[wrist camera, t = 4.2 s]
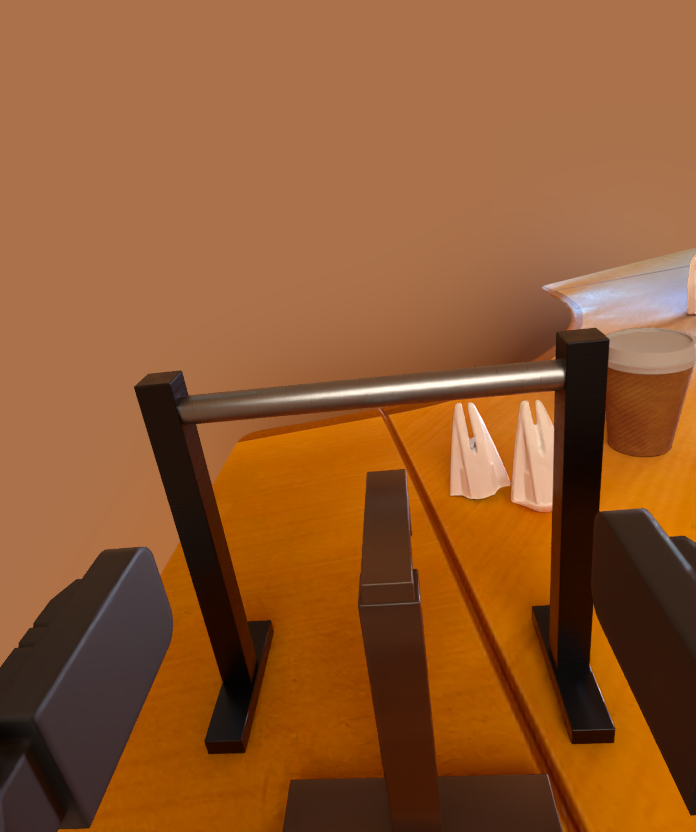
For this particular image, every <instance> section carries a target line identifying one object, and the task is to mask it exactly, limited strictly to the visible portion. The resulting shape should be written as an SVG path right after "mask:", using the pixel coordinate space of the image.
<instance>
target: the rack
mask: <svg viewBox="0 0 696 832" xmlns="http://www.w3.org/2000/svg"><path fill="white" fill-rule="evenodd" d="M609 344H610V339H609V338H608V337H607V336H605V335H604V334H603V333H602V332H601V331H599V330H598V329H597V328H589V329H579V330H569V331H560V332H557V333H556V359H555V360H544V361H534V362H524V363H514V364H505V365H493V366H483V367H474V368H464V369H453V370H442V371H433V372H423V373H413V374H402V375H391V376H382V377H371V378H361V379H351V380H340V381H330V382H321V383H310V384H299V385H289V386H279V387H269V388H259V389H248V390H239V391H228V392H218V393H208V394H198V395H188V392H187V388H186V385H185V381H184V377H183V373H182V371H172V372H162V373H152V374H148V375H146V376H145V377H144V378H143V379H142V380H141V381H140V382H139V383H138V384H137V385H136V386H134V389H135V392H136V396H137V399H138V402H139V405H140V409H141V412H142V416H143V419H144V422H145V426H146V428H147V432H148V436H149V439H150V442H151V445H152V449H153V452H154V455H155V459H156V462H157V465H158V468H159V472H160V475H161V479H162V482H163V485H164V488H165V492H166V495H167V499H168V502H169V505H170V508H171V512H172V515H173V518H174V522H175V525H176V528H177V532H178V535H179V539H180V542H181V545H182V548H183V552H184V555H185V558H186V562H187V565H188V568H189V572H190V575H191V578H192V582H193V585H194V588H195V592H196V595H197V598H198V602H199V605H200V608H201V612H202V615H203V618H204V622H205V625H206V628H207V632H208V635H209V638H210V642H211V645H212V648H213V651H214V655H215V658H216V661H217V665H218V668H219V671H220V675H221V678H222V681H223V683H222V686H221V689H220V693H219V696H218V699H217V702H216V705H215V709H214V712H213V715H212V718H211V722H210V725H209V728H208V731H207V735H206V738H205V741H204V742H205V745H206V748H207V751H208V754H228V753H245V751H246V747H247V743H248V738H249V734H250V730H251V726H252V721H253V717H254V713H255V709H256V704H257V700H258V696H259V692H260V687H261V683H262V679H263V675H264V670H265V666H266V662H267V658H268V653H269V649H270V645H271V641H272V636H273V632H274V631H273V627H272V622H271V620H266V621H247V618H246V615H245V611H244V607H243V603H242V599H241V595H240V592H239V588H238V584H237V580H236V576H235V572H234V569H233V565H232V561H231V557H230V553H229V549H228V546H227V542H226V538H225V534H224V530H223V526H222V523H221V519H220V515H219V511H218V507H217V503H216V500H215V496H214V492H213V488H212V484H211V481H210V477H209V473H208V469H207V465H206V461H205V458H204V454H203V450H202V446H201V442H200V438H199V434H198V431H197V427H196V424H201V423H212V422H222V421H233V420H245V419H255V418H265V417H277V416H287V415H299V414H309V413H320V412H331V411H342V410H353V409H363V408H375V407H385V406H396V405H407V404H418V403H429V402H440V401H451V400H461V399H472V398H483V397H494V396H505V395H516V394H526V393H537V392H548V391H555V411H554V455H553V498H552V542H551V586H550V605H545V606H532V620H533V623H534V626H535V629H536V633H537V636H538V639H539V642H540V645H541V648H542V652H543V655H544V658H545V661H546V664H547V667H548V670H549V674H550V677H551V680H552V683H553V686H554V689H555V693H556V696H557V699H558V702H559V705H560V708H561V712H562V715H563V718H564V721H565V724H566V727H567V731H568V734H569V737H570V740H571V743H572V744H591V743H614V737H615V727H614V725H613V722H612V720H611V717H610V715H609V712H608V710H607V707H606V705H605V702H604V700H603V697H602V695H601V692H600V690H599V687H598V685H597V682H596V680H595V677H594V675H593V672H592V670H591V667H590V665H589V663H590V647H591V631H592V615H593V598H592V591H591V573H592V553H593V532H594V519H595V516H596V514H597V513H598V512H599V504H600V488H601V472H602V456H603V440H604V424H605V408H606V392H607V376H608V360H609Z"/></svg>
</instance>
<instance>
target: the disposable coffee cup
mask: <svg viewBox="0 0 696 832" xmlns="http://www.w3.org/2000/svg"><path fill="white" fill-rule="evenodd" d="M606 336H607V337H608V338H609V339H610V344H609V360H608V376H607V392H606V420H607V432H608V443H609V445H610V446H611V447H612V448H614V449H615V450H617V451H619V452H622V453H625V454H628V455H633V456H644V457H648V456H657V455H661V454H664V453H666V452H668V451H669V450H670V449H671V447H672V443H673V439H674V436H675V432H676V429H677V425H678V421H679V418H680V414H681V411H682V407H683V403H684V400H685V396H686V393H687V389H688V385H689V382H690V379H691V375H692V371H693V367H694V366H695V365H696V337H694V336H693V335H691V334H689V333H686V332H682V331H678V330H674V329H667V328H651V327H647V328H630V329H623V330H619V331H615V332H612V333H610V334H607V335H606Z"/></svg>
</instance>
